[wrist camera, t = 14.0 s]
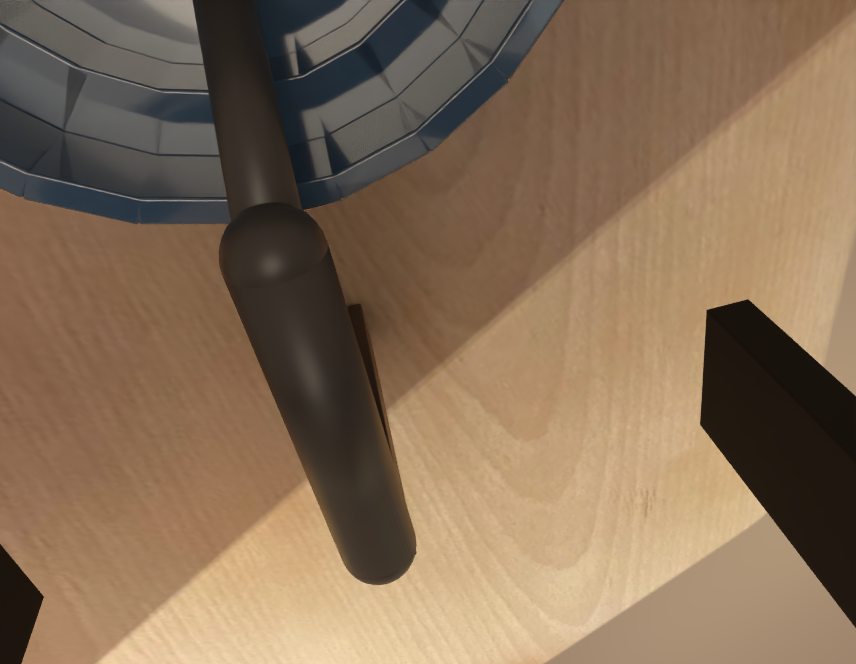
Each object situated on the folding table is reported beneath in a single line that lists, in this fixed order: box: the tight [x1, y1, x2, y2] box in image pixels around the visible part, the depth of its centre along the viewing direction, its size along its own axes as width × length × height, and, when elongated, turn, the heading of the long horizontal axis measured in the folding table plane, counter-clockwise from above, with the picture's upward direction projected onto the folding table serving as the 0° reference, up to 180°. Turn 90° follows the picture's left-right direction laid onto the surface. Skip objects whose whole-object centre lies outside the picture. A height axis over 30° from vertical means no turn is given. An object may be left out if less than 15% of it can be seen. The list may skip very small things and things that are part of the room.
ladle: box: [192, 0, 416, 585], centre depth 14 cm, size 19×6×10 cm, turn 11°
